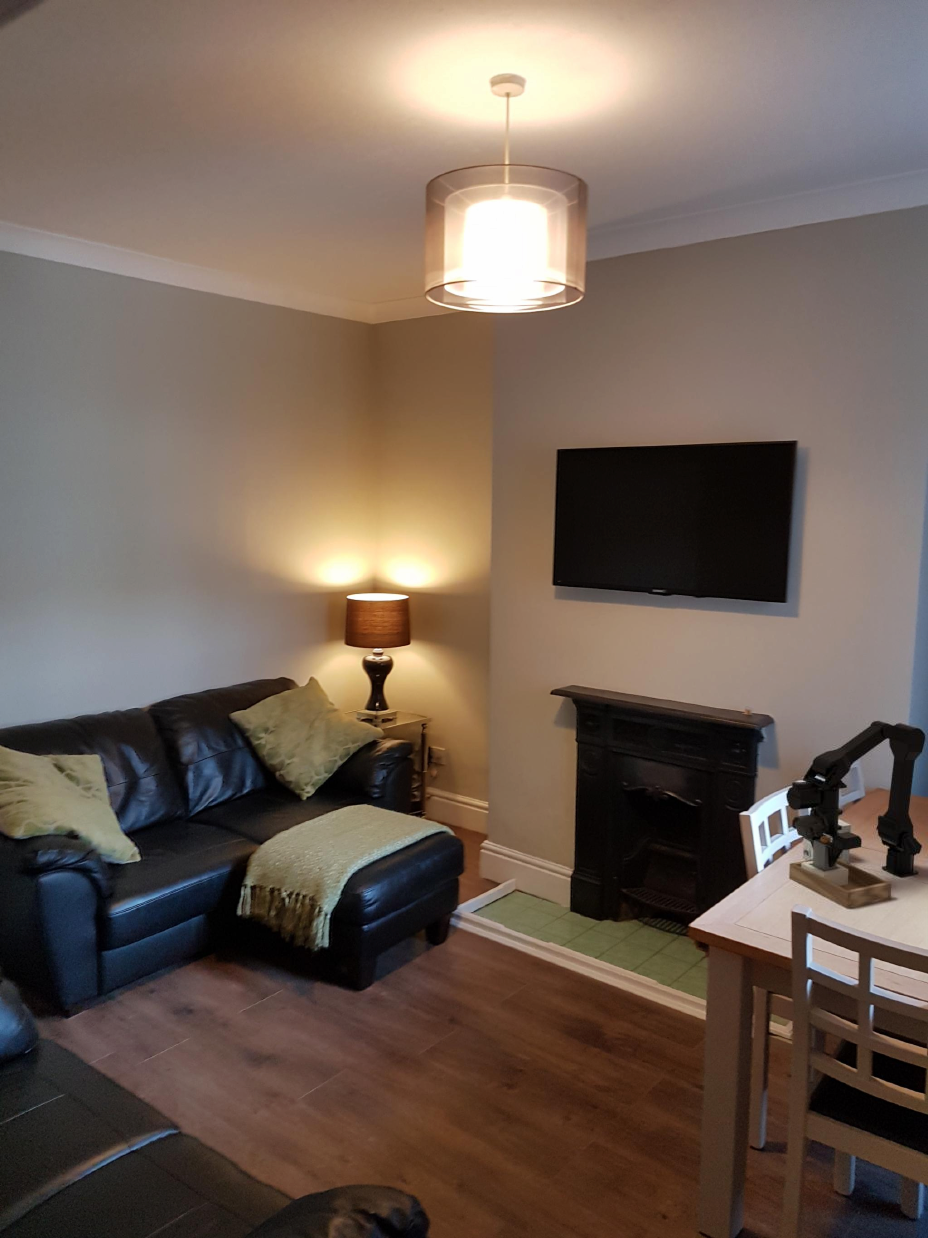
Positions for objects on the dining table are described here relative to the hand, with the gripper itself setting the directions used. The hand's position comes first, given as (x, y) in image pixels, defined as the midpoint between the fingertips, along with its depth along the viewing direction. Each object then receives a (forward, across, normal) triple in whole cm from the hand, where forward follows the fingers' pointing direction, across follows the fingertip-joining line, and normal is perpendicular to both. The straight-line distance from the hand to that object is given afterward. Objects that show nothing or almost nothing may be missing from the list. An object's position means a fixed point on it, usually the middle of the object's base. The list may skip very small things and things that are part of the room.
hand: (824, 864), depth 236 cm
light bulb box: (+6, -12, +12) cm, 18 cm away
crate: (+5, +4, +1) cm, 7 cm away
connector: (+2, 0, 0) cm, 2 cm away
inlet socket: (+5, 0, 0) cm, 5 cm away
